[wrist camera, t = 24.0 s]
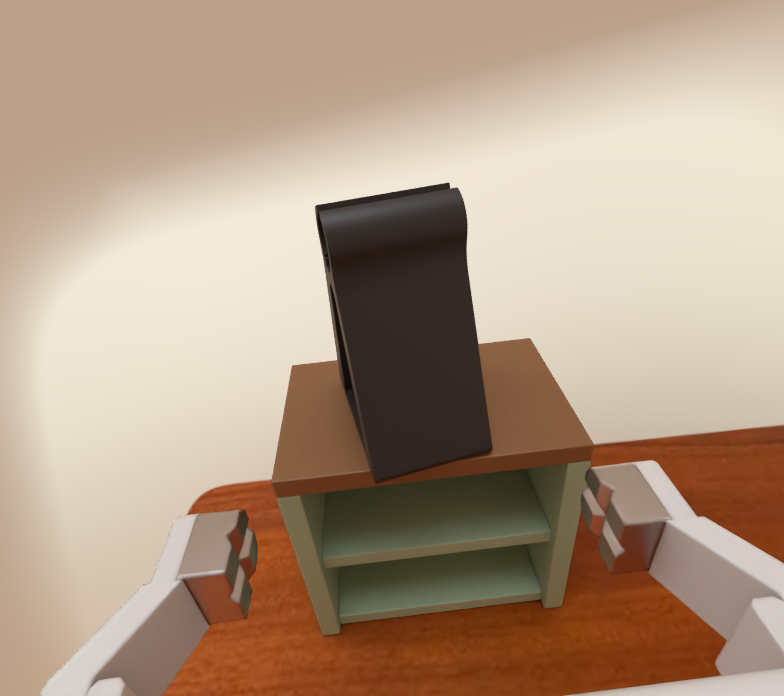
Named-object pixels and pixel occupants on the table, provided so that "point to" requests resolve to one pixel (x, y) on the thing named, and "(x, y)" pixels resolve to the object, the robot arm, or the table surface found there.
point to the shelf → (433, 501)
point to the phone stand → (406, 327)
